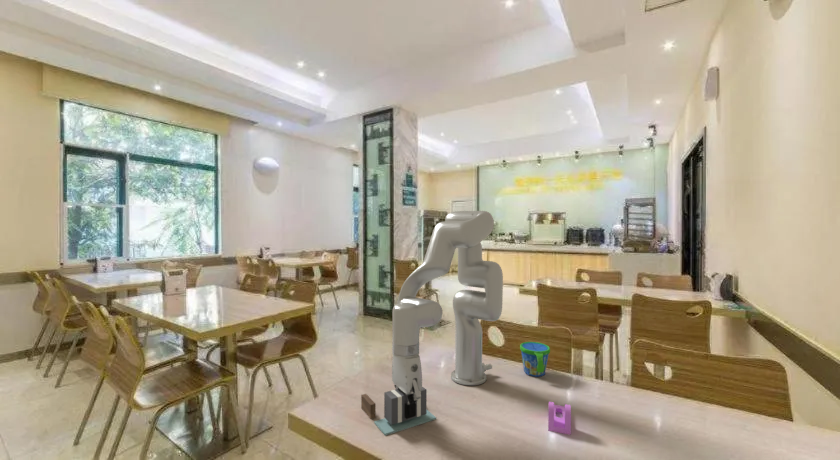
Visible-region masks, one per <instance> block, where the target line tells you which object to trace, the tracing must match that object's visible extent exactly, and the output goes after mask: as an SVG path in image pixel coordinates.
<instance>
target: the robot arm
mask: <svg viewBox="0 0 840 460" xmlns="http://www.w3.org/2000/svg"><path fill="white" fill-rule="evenodd" d="M444 220H445V221H440V222H438V223H437V224H435V226H434V228H433V230H432V233H431V236H430V240H429V243H428V246H427V249H426V253H425V254H424V259H423V261H422V263H421V264H420V265H419V266H418V267H417V268H415V269H414V271H412V273H410V274H409V276H408V277H407V278H406V279H405V281H404V282H403V283H402V285H401V288H400V290H399V294H398V297H397V301H396V304H395V305H394V306H393V308H392V312H391V313H392V314H391V315H392V319H391V320H392V324H391V325H392V327H391V328H392V333H391V334H392V339H391V340H392V345H391V346H392V347H391V349H392V351H391V352H392V364H391V380H392V383H393V384H394V385H393V386H394V388H395V389H401V390H402V391H403V392H404V393H405V396H406V404H405V418H406V419H408V418H411V417H414V416H416V403H417V400H418V399H420V398H421V396H420V392H419V391H422V387H423V372H422V371H423V369H422V362H421V361H422V360H421V357H420V356H421V355H420V329H421V328H429V327H434V326H435V325H437V324H438V323H440V321H441V319H442V318H443V309H442V308H443V307H442V305H441V304H440V303H439V302H437V301H435V300H431V299H424V298H421V297H417V294H418V292H419V290H420V289H421V288H422V287H423V286H424V285H425V284H427V283H428V282H430V281H433V280H435V279H438V278H440V277H443V276H445V275H447V274H448V273H449V272H450V270H451V269H450V268H451V266H452V262H453V258H454V255H455V251H456V250H457V279H458V282H459V284H461V285H462V286H466V287H469V288H470V287H471V288H472V287H473V288H480V289H484V291H481V290H474V289H473V290H472V289H462V290H458V291H457V292H456V293H455V294H454V296H453V299H452V308H453V313H454V315H453V316H454V323H455V337H454V338H455V341H454V343H455V346H454V347H455V350H454V351H455V352H454V354H455V355H454V358H455V361H454V362H455V363H454V365H455V366H454V367H455V368H454V370H453V371H451V373H450V378H451V381H453V382H455V383H457V384H459V385H463V386H478V385H482V384H483V383H486V381H487V375H486V373H485V372H487V371H488V370H489V371H490V370H492V369H493V365H492V364H491V363H487V364H485V363H484V362H483V328H482V324H481V322H480V320H483V321H487V322H495V321H498V320H500V318H501V316H502V312H503V295H504V291H503V289H504V280H503V279H504V274H503V269H502V266H501V265H500V264H499V263H498V262H495V261H490V260H483V245H482V243H481V242H482V241H484V240H485V239H486V238H487V237H489V235H490V234H492V231H493V229H494V225H495V221H494V217H493V216H492V214H491V213H490V212H488V211H486V210H457V211H456V210H455V211H451V212H449V213H447V215H445V219H444ZM411 389H412V391H410V390H411ZM410 394H413V396H412V397H410V399H409V395H410Z"/></svg>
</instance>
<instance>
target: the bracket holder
mask: <svg viewBox="0 0 840 460" xmlns="http://www.w3.org/2000/svg"><path fill="white" fill-rule="evenodd" d="M360 396H361V398H360V400H361V409H362V411H363V412H364V413H365V414H366V415H367V416H368V418H369V419H370V420H372V419H375V418H376V409H377V408H376V402H375V401H374V400H373V399H372V398H371V397H370V395H368V394H367V393H364V394H361V395H360Z"/></svg>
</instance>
